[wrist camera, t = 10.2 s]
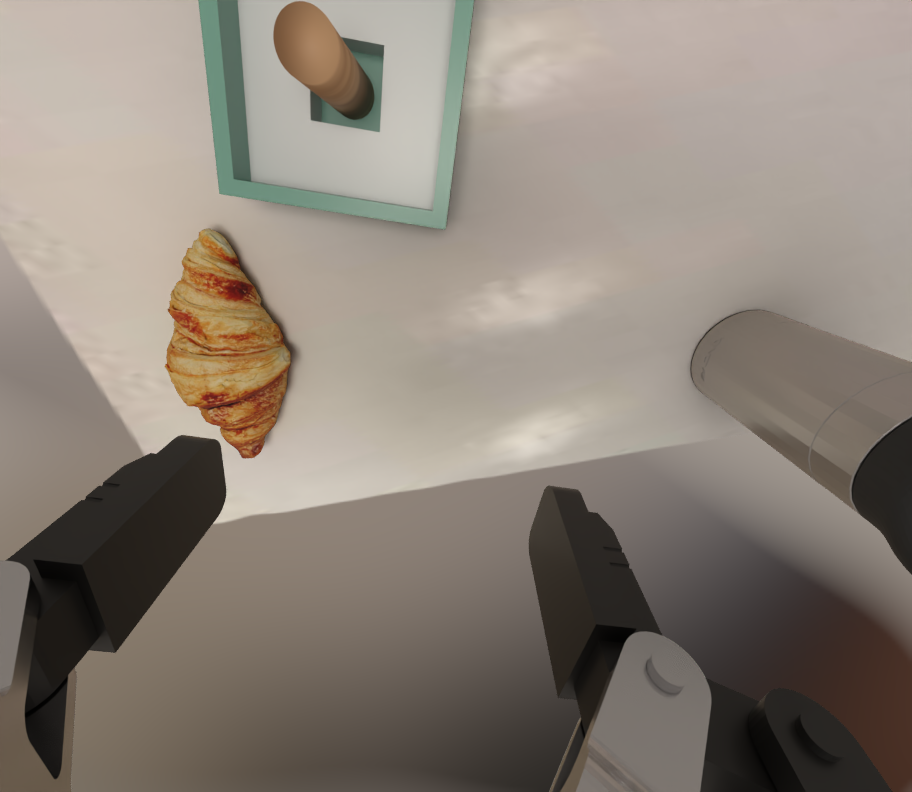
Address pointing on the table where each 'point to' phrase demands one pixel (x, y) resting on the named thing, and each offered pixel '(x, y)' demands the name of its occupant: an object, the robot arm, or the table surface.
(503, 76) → the table surface
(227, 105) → the box
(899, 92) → the table surface
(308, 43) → the peg
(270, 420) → the croissant
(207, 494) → the robot arm
